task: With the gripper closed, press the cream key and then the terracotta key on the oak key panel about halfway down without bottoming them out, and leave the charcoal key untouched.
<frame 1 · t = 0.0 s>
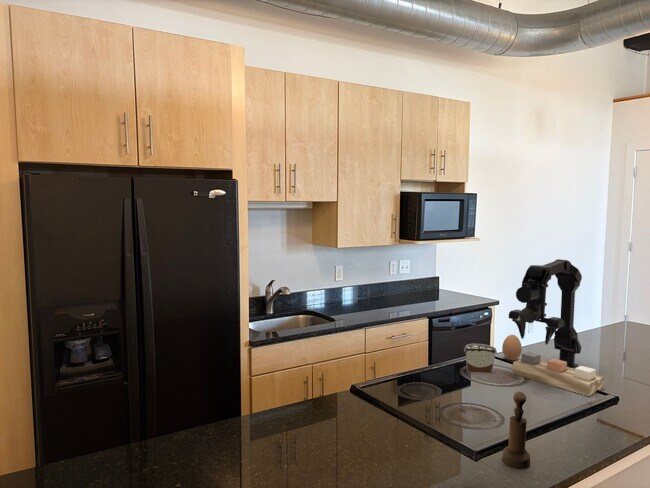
hand: (534, 341, 180), 15 cm above the countertop, tool pointing down, fingers open, 9 cm apart
charcoal key: (531, 358, 188), point 6 cm above the countertop, slide at 0.0 cm
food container: (477, 370, 190), on the countertop
cream key: (585, 373, 173), point 6 cm above the countertop, slide at 0.0 cm
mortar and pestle: (515, 462, 123), on the countertop
terracotta key: (556, 365, 180), point 6 cm above the countertop, slide at 0.0 cm
egg: (511, 360, 204), on the countertop
key panel: (555, 381, 181), on the countertop
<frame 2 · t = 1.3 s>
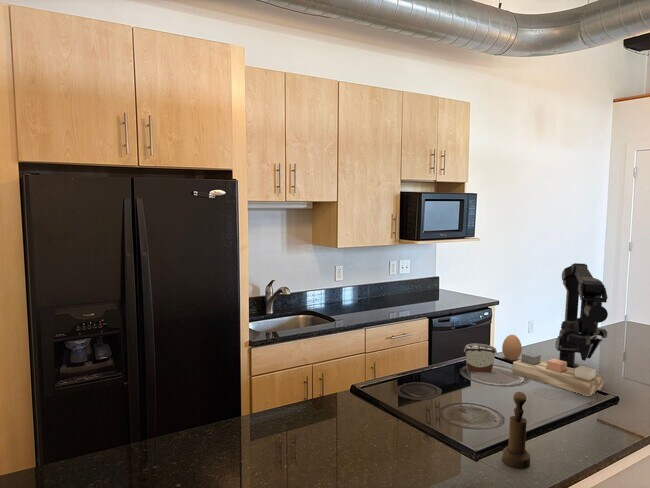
hand: (586, 359, 172), 11 cm above the countertop, tool pointing down, fingers open, 4 cm apart
nothing on the countertop moved.
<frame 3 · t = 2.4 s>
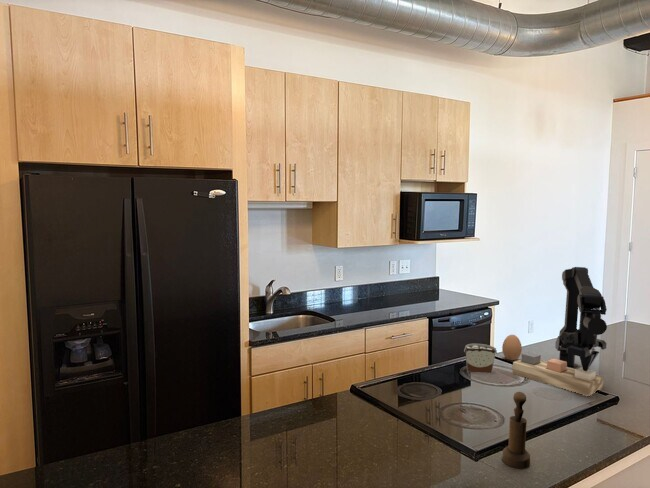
hand: (585, 370, 173), 7 cm above the countertop, tool pointing down, fingers closed, pressing on cream key
cream key: (585, 374, 173), point 5 cm above the countertop, slide at 0.7 cm, touching gripper
everything else where it was.
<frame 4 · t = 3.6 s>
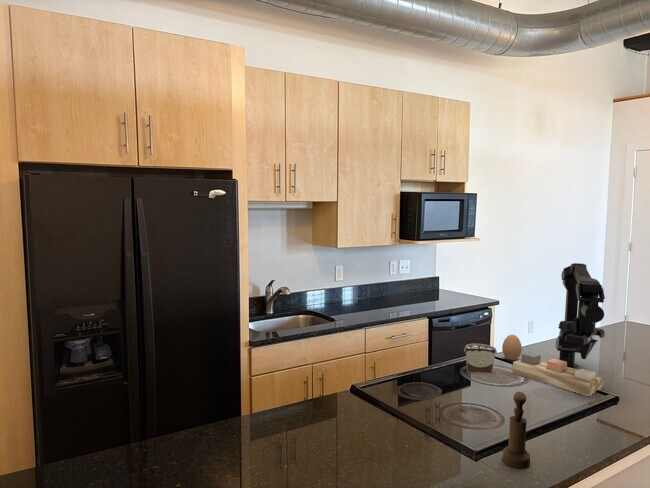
hand: (583, 359, 173), 11 cm above the countertop, tool pointing down, fingers closed
cream key: (584, 376, 173), point 5 cm above the countertop, slide at 1.2 cm
everything else where it was.
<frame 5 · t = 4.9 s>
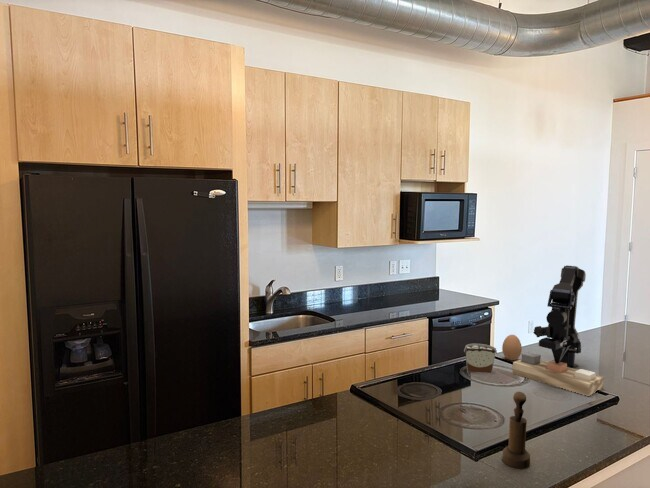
hand: (557, 363, 180), 7 cm above the countertop, tool pointing down, fingers closed, pressing on terracotta key
terracotta key: (556, 367, 180), point 5 cm above the countertop, slide at 0.6 cm, touching gripper
everything else where it was.
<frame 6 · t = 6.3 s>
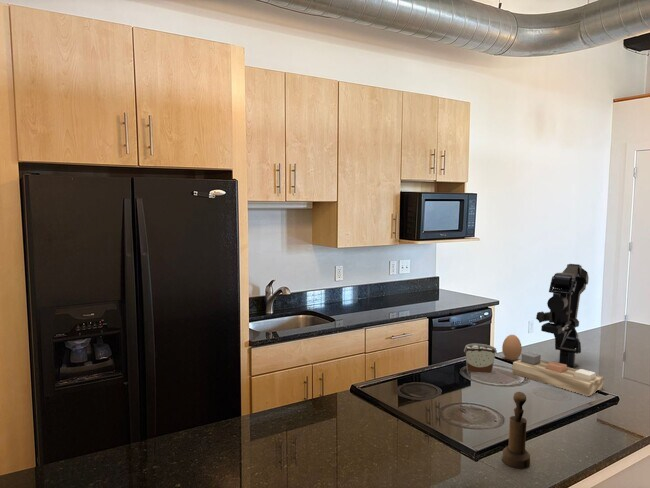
hand: (559, 347, 186), 11 cm above the countertop, tool pointing down, fingers closed
terracotta key: (556, 368, 180), point 5 cm above the countertop, slide at 1.1 cm
everything else where it was.
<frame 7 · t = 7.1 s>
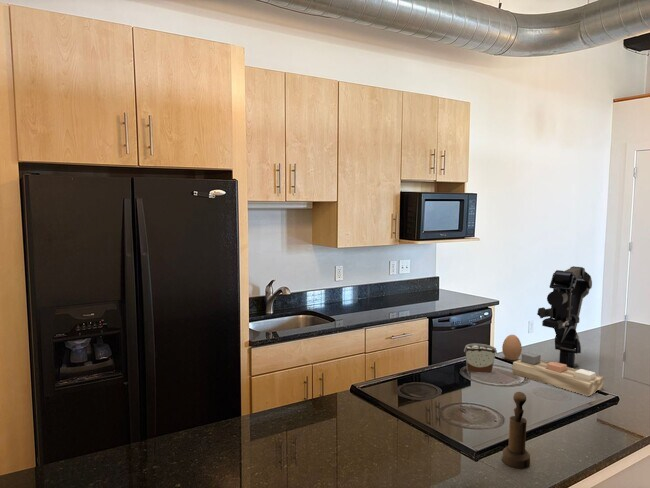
hand: (559, 342, 189), 12 cm above the countertop, tool pointing down, fingers closed
nothing on the countertop moved.
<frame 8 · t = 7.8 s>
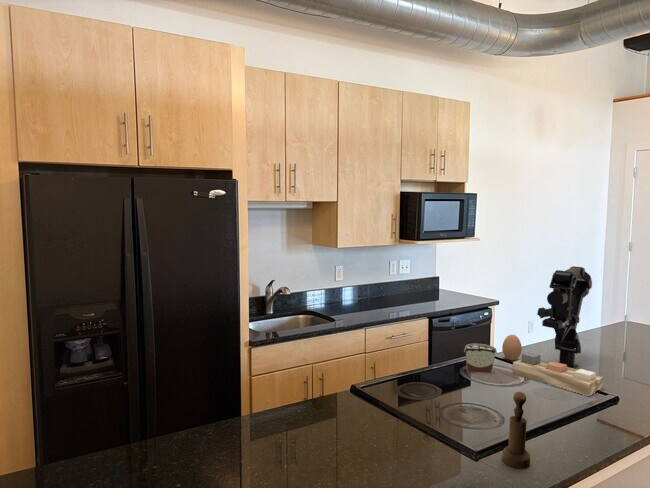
hand: (559, 342, 189), 12 cm above the countertop, tool pointing down, fingers closed
nothing on the countertop moved.
at the end: cream key slide at 1.2 cm; terracotta key slide at 1.1 cm; charcoal key slide at 0.0 cm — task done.
